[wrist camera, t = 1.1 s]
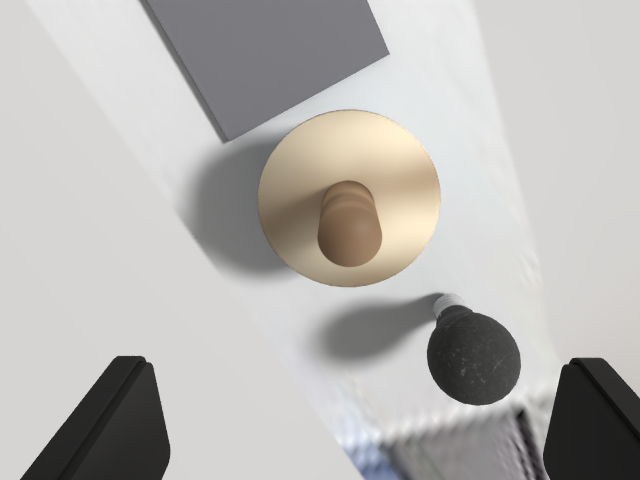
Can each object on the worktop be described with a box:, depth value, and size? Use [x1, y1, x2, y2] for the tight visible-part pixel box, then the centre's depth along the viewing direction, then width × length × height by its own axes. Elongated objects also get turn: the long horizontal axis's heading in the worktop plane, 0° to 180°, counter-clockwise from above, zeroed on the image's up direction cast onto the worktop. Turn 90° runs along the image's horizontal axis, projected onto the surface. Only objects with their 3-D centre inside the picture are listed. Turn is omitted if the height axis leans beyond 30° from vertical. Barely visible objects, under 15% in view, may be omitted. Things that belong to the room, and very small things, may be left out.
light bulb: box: [427, 294, 521, 406], centre depth 30 cm, size 6×6×10 cm
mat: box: [147, 0, 390, 142], centre depth 27 cm, size 12×12×1 cm
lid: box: [258, 110, 441, 287], centre depth 23 cm, size 10×10×6 cm
